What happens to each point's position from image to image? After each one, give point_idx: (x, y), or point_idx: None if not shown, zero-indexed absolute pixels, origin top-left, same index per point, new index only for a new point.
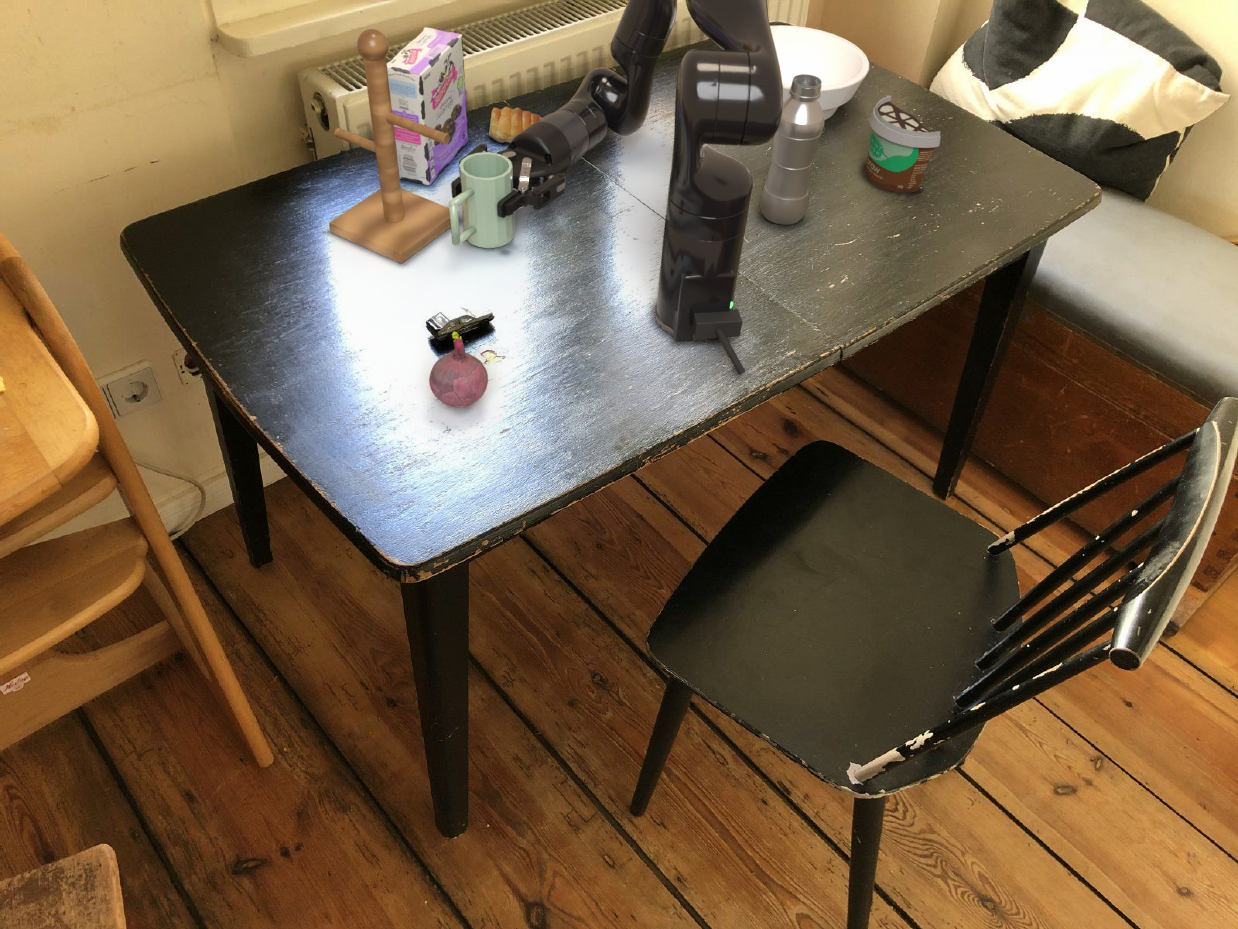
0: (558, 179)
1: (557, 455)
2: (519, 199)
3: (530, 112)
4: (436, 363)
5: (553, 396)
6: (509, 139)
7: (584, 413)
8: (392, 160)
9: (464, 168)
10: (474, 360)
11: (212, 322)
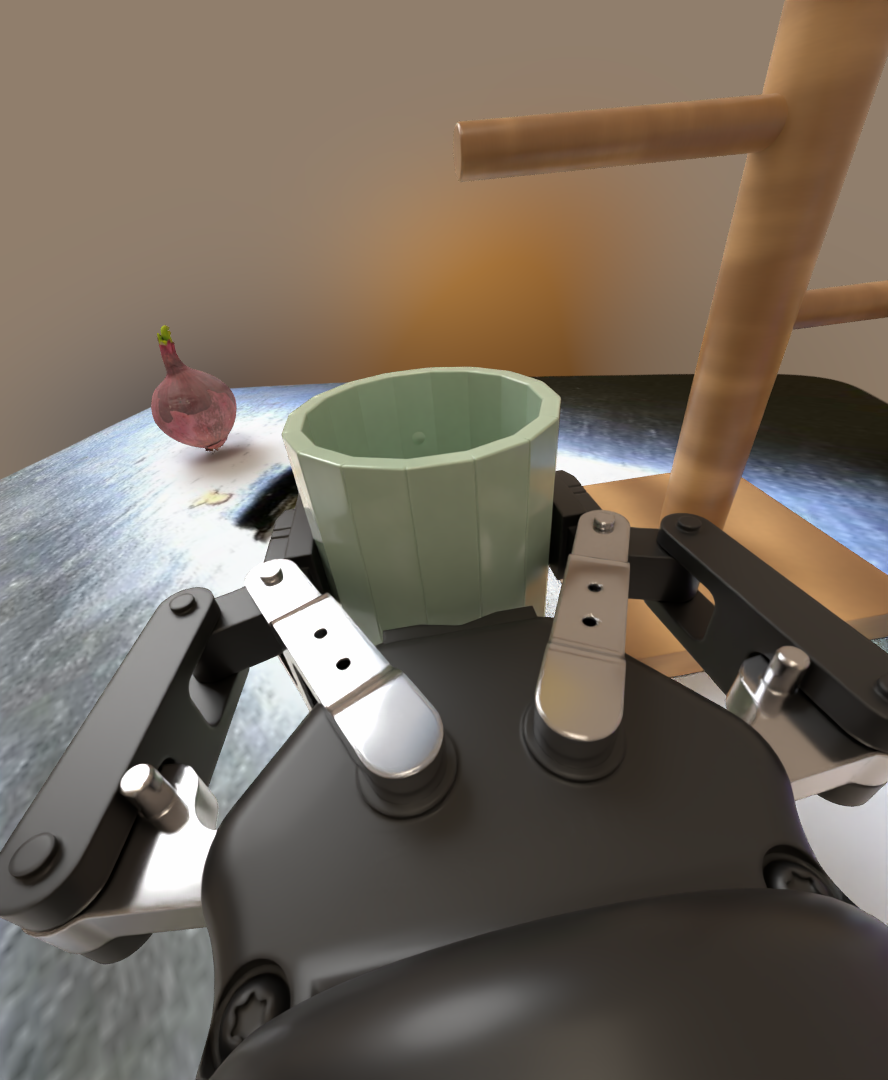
0: (55, 791)
1: (56, 472)
2: (266, 558)
3: None
4: (216, 377)
5: (79, 508)
6: None
7: (18, 515)
8: (704, 337)
9: (513, 409)
10: (161, 387)
11: (561, 385)
